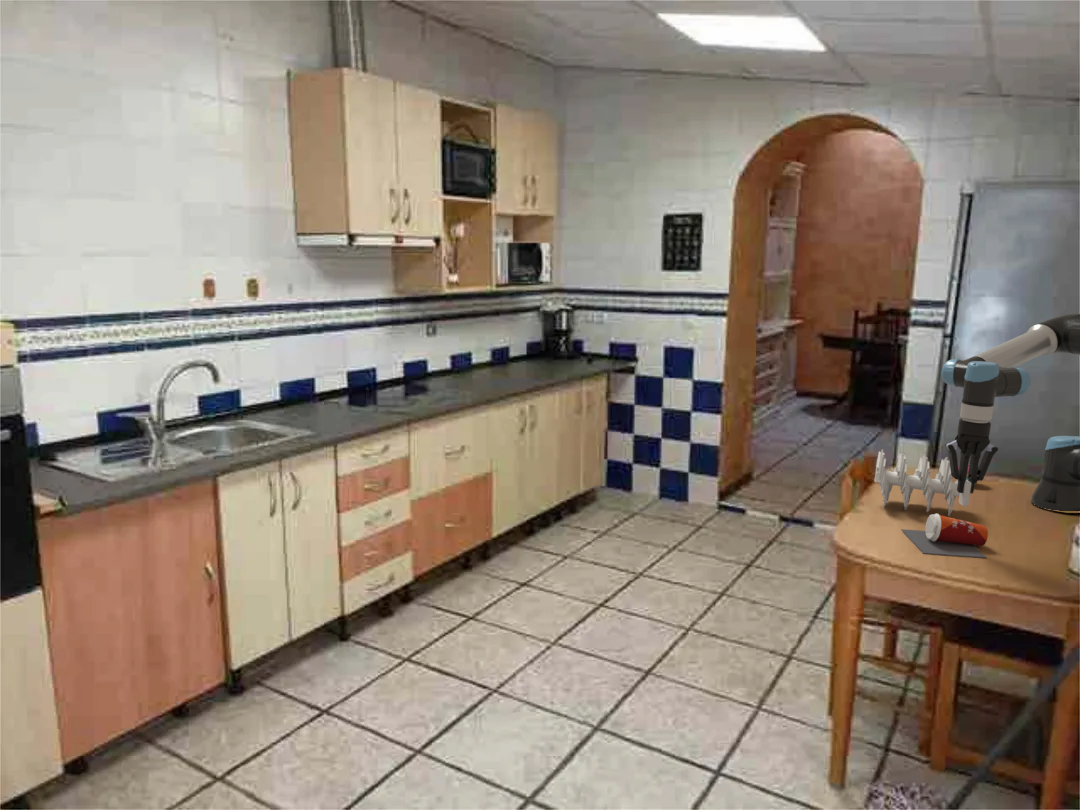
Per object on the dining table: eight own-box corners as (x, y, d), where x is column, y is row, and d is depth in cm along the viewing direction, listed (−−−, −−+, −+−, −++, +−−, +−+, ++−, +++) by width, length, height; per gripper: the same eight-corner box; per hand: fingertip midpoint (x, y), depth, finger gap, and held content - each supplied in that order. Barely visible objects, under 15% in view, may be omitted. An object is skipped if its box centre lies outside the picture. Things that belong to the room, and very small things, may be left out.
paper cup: (992, 525, 214) (938, 516, 216) (985, 553, 215) (932, 543, 217) (979, 518, 222) (928, 509, 224) (973, 545, 223) (922, 536, 225)
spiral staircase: (957, 532, 242) (868, 515, 251) (957, 493, 255) (873, 478, 264) (970, 487, 231) (878, 471, 240) (970, 449, 244) (882, 435, 253)
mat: (959, 534, 228) (959, 533, 228) (986, 558, 211) (986, 557, 211) (900, 530, 230) (901, 529, 230) (923, 553, 212) (923, 552, 212)
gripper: (994, 418, 216) (982, 501, 221) (944, 415, 217) (933, 498, 222) (1007, 424, 209) (994, 510, 213) (955, 421, 210) (943, 507, 215)
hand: (963, 504), depth 218 cm, fingers closed
